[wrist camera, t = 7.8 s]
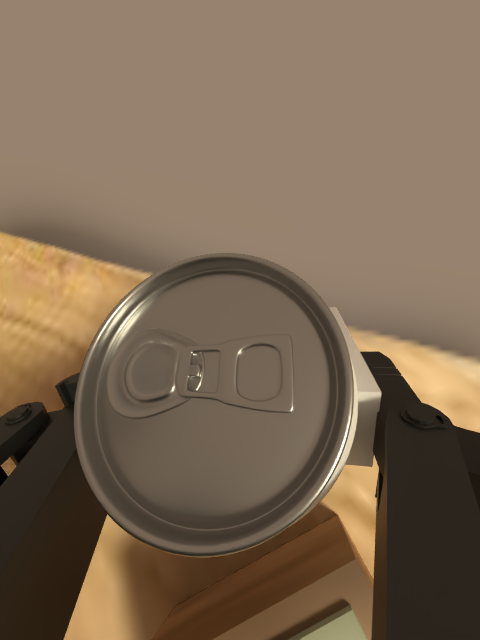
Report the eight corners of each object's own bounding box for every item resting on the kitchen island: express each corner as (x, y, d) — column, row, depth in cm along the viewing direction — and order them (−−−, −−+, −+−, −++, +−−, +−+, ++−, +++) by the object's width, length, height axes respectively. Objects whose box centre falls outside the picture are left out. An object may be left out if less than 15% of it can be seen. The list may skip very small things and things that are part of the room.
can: (223, 356, 17) (102, 251, 7) (315, 356, 16) (355, 221, 5) (215, 457, 15) (1, 555, 4) (324, 467, 13) (433, 660, 3)
